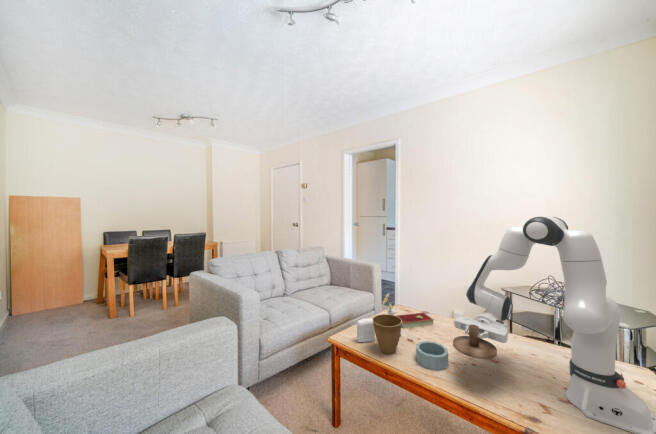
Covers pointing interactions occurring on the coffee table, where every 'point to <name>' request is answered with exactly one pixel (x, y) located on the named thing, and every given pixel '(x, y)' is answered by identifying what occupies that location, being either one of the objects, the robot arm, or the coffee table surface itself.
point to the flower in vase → (390, 311)
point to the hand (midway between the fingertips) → (473, 334)
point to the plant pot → (387, 332)
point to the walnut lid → (474, 345)
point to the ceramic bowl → (432, 355)
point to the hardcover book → (415, 320)
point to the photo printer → (365, 330)
